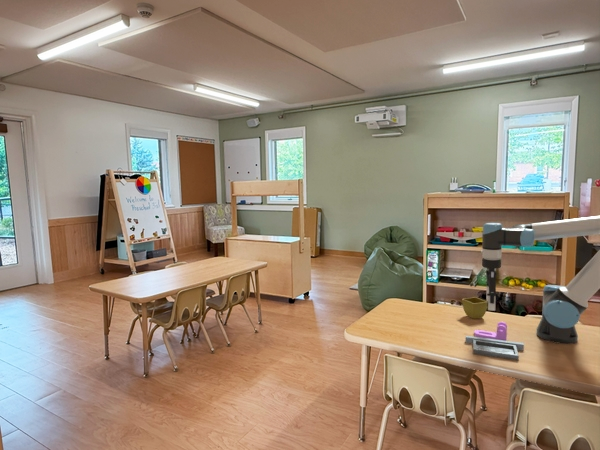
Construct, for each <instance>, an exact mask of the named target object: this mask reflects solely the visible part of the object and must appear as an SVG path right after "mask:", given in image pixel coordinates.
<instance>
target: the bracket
mask: <svg viewBox="0 0 600 450" xmlns="http://www.w3.org/2000/svg"><path fill="white" fill-rule="evenodd" d="M473 335H474V337H480V338H488V339H496V340H503V341H507V335H508V325H507V322H504V321H499V322H497V325H496V332H494V331H487V330H482V329H476V330H474V332H473Z"/></svg>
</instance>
